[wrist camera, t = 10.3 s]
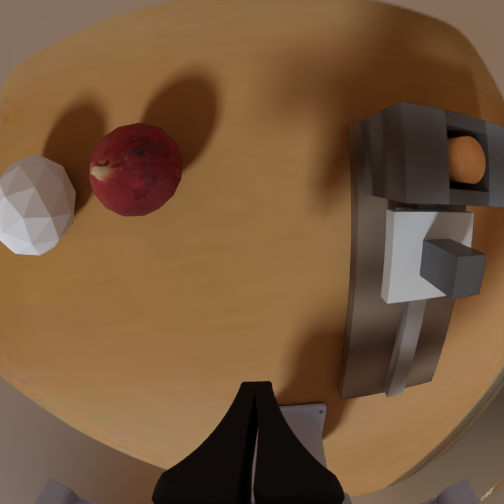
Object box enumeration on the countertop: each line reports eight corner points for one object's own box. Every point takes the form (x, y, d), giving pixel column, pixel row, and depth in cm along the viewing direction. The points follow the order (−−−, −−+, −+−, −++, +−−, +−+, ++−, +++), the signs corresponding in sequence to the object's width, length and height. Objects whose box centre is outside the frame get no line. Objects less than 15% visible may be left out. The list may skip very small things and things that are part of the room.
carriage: (447, 281, 19) (494, 315, 13) (375, 290, 19) (413, 333, 13) (455, 208, 17) (510, 223, 11) (379, 207, 18) (428, 223, 11)
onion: (178, 118, 18) (130, 89, 11) (206, 189, 20) (170, 198, 12) (113, 154, 19) (46, 149, 11) (139, 220, 20) (79, 245, 13)
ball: (92, 189, 23) (97, 207, 17) (42, 253, 21) (34, 293, 15) (40, 136, 18) (23, 133, 12) (-10, 204, 16) (-39, 230, 10)
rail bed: (425, 372, 23) (456, 419, 16) (337, 389, 24) (355, 449, 16) (453, 137, 17) (515, 131, 10) (347, 125, 18) (391, 100, 11)
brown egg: (450, 181, 15) (486, 185, 11) (420, 178, 15) (455, 181, 11) (448, 143, 14) (484, 139, 10) (418, 138, 14) (452, 132, 11)
